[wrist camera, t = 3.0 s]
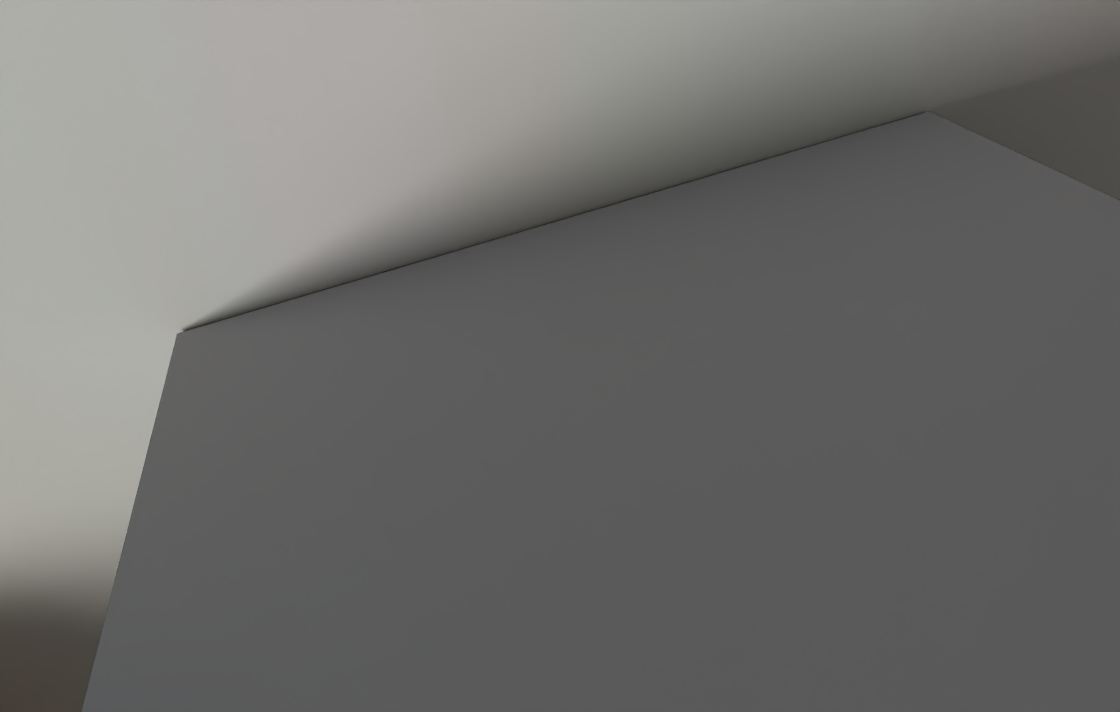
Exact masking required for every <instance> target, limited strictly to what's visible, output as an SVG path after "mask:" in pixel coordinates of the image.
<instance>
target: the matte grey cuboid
mask: <svg viewBox="0 0 1120 712" xmlns="http://www.w3.org/2000/svg"><path fill="white" fill-rule="evenodd" d="M82 712H1120V200H1118V199H1116V198H1114V197H1111V196H1109V195H1107V194H1105V193H1103V192H1101V191H1099V190H1096V189H1094V188H1092V187H1090V186H1088V185H1086V184H1084V183H1081V182H1079V181H1077V180H1075V179H1073V178H1071V177H1069V176H1066V175H1064V174H1062V173H1060V172H1058V171H1056V170H1054V169H1051V168H1049V167H1047V166H1045V165H1043V164H1041V163H1039V162H1036V161H1034V160H1032V159H1030V158H1028V157H1026V156H1024V155H1022V154H1019V153H1017V152H1015V151H1013V150H1011V149H1009V148H1007V147H1004V146H1002V145H1000V144H998V143H996V142H994V141H992V140H989V139H987V138H985V137H983V136H981V135H979V134H977V133H974V132H972V131H970V130H968V129H966V128H964V127H962V126H959V125H957V124H955V123H953V122H951V121H949V120H947V119H944V118H942V117H940V116H938V115H936V114H934V113H932V112H929V111H928V112H925V113H922V114H918V115H915V116H911V117H908V118H905V119H901V120H898V121H894V122H891V123H888V124H884V125H881V126H878V127H874V128H871V129H867V130H864V131H861V132H857V133H854V134H851V135H847V136H844V137H840V138H837V139H834V140H830V141H827V142H824V143H820V144H817V145H813V146H810V147H807V148H803V149H800V150H796V151H793V152H790V153H786V154H783V155H780V156H776V157H773V158H769V159H766V160H763V161H759V162H756V163H753V164H749V165H746V166H742V167H739V168H736V169H732V170H729V171H725V172H722V173H719V174H715V175H712V176H709V177H705V178H702V179H698V180H695V181H692V182H688V183H685V184H682V185H678V186H675V187H671V188H668V189H665V190H661V191H658V192H655V193H651V194H648V195H644V196H641V197H638V198H634V199H631V200H627V201H624V202H621V203H617V204H614V205H611V206H607V207H604V208H600V209H597V210H594V211H590V212H587V213H584V214H580V215H577V216H573V217H570V218H567V219H563V220H560V221H556V222H553V223H550V224H546V225H543V226H540V227H536V228H533V229H529V230H526V231H523V232H519V233H516V234H513V235H509V236H506V237H502V238H499V239H496V240H492V241H489V242H486V243H482V244H479V245H475V246H472V247H469V248H465V249H462V250H458V251H455V252H452V253H448V254H445V255H442V256H438V257H435V258H431V259H428V260H425V261H421V262H418V263H415V264H411V265H408V266H404V267H401V268H398V269H394V270H391V271H387V272H384V273H381V274H377V275H374V276H371V277H367V278H364V279H360V280H357V281H354V282H350V283H347V284H344V285H340V286H337V287H333V288H330V289H327V290H323V291H320V292H316V293H313V294H310V295H306V296H303V297H300V298H296V299H293V300H289V301H286V302H283V303H279V304H276V305H273V306H269V307H266V308H262V309H259V310H256V311H252V312H249V313H246V314H242V315H239V316H235V317H232V318H229V319H225V320H222V321H218V322H215V323H212V324H208V325H205V326H202V327H198V328H195V329H191V330H188V331H185V332H181V333H178V334H177V337H176V341H175V345H174V348H173V352H172V356H171V360H170V364H169V368H168V372H167V376H166V380H165V384H164V388H163V392H162V396H161V400H160V404H159V408H158V412H157V416H156V419H155V423H154V427H153V431H152V435H151V439H150V443H149V447H148V451H147V455H146V459H145V463H144V467H143V471H142V475H141V479H140V483H139V487H138V491H137V494H136V498H135V502H134V506H133V510H132V514H131V518H130V522H129V526H128V530H127V534H126V538H125V542H124V546H123V550H122V554H121V558H120V562H119V565H118V569H117V573H116V577H115V581H114V585H113V589H112V593H111V597H110V601H109V605H108V609H107V613H106V617H105V621H104V625H103V629H102V633H101V637H100V640H99V644H98V648H97V652H96V656H95V660H94V664H93V668H92V672H91V676H90V680H89V684H88V688H87V692H86V696H85V700H84V704H83V708H82Z"/></svg>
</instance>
